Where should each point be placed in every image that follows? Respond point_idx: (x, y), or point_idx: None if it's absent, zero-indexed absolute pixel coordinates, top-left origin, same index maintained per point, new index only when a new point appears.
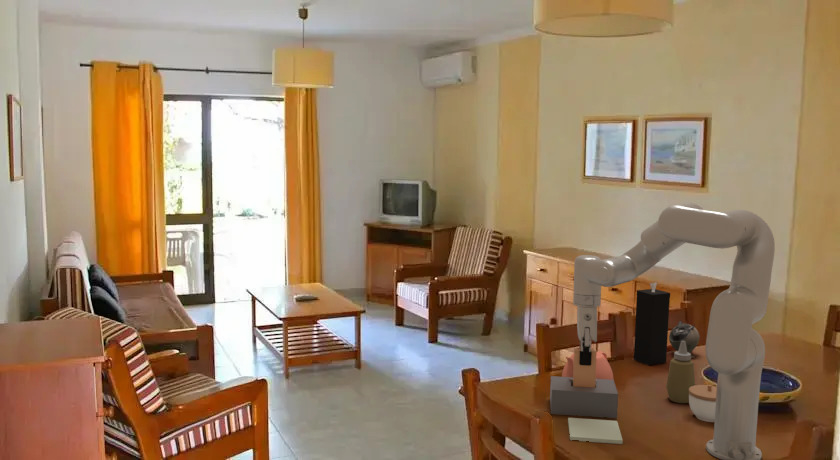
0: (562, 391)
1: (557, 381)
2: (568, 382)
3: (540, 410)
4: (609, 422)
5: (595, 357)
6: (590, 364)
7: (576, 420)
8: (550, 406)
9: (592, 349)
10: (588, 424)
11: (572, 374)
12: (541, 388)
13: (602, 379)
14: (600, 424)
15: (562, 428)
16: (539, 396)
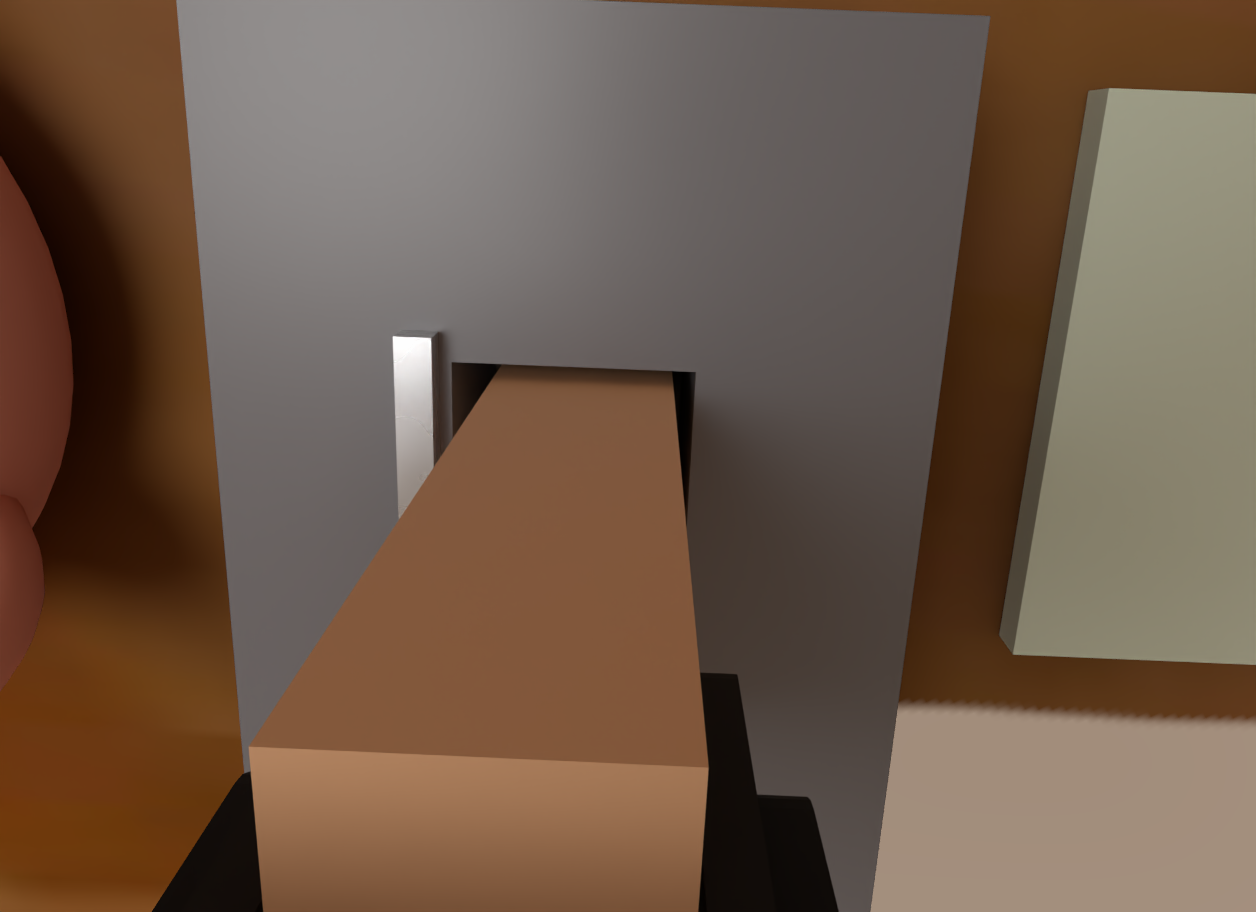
0: (872, 857)
1: None
2: None
3: None
4: (1163, 199)
5: (697, 666)
6: (733, 690)
7: (1096, 575)
8: None
9: (418, 877)
10: (1220, 459)
11: (11, 652)
12: (38, 822)
13: (214, 207)
14: (1223, 320)
15: (1196, 700)
16: None
